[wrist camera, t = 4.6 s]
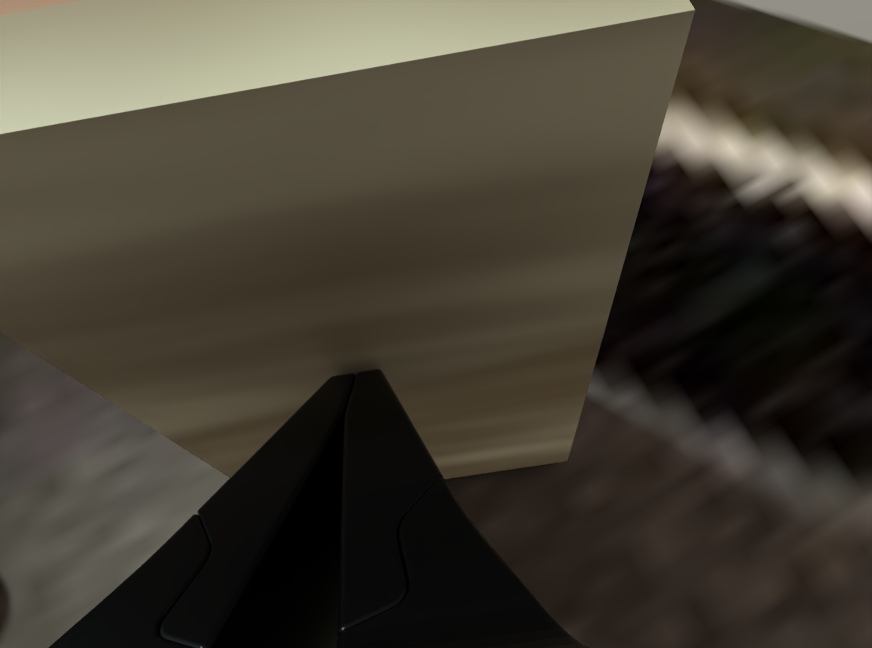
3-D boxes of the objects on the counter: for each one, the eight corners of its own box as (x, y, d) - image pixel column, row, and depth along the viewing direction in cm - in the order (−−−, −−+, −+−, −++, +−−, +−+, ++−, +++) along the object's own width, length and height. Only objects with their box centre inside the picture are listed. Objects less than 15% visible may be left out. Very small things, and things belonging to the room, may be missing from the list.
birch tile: (567, 460, 15) (695, 9, 4) (271, 504, 15) (-243, 177, 5) (547, 376, 16) (609, -124, 6) (275, 418, 16) (-123, 15, 6)
